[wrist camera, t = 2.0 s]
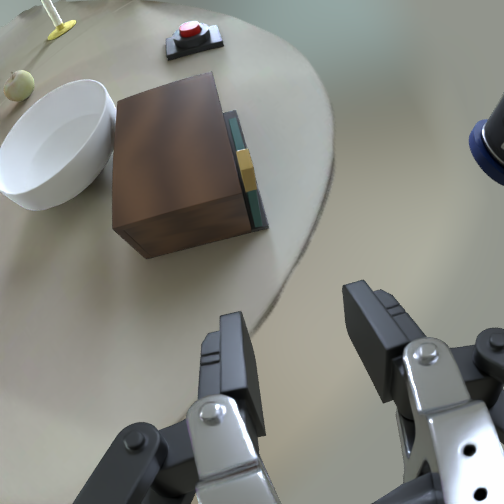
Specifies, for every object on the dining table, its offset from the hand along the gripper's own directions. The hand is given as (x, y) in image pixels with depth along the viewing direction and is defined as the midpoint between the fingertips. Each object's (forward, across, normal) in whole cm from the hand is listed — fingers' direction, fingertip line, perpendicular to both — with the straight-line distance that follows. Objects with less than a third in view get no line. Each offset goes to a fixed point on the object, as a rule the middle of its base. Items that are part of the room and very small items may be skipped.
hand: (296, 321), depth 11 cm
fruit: (+57, +43, -29) cm, 77 cm away
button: (+50, +3, -25) cm, 56 cm away
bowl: (+36, +24, -8) cm, 44 cm away
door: (+26, 0, +1) cm, 26 cm away
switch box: (+52, +3, -23) cm, 57 cm away
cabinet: (+30, +7, -1) cm, 30 cm away
